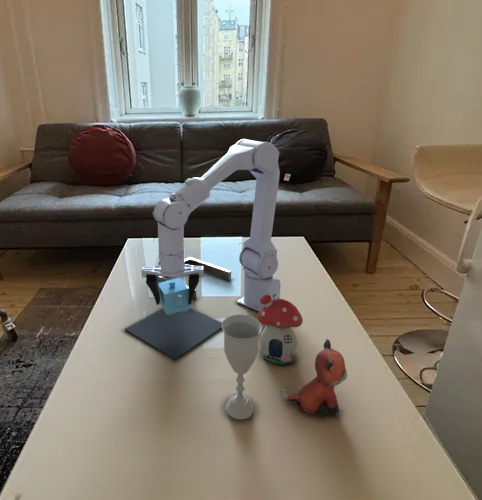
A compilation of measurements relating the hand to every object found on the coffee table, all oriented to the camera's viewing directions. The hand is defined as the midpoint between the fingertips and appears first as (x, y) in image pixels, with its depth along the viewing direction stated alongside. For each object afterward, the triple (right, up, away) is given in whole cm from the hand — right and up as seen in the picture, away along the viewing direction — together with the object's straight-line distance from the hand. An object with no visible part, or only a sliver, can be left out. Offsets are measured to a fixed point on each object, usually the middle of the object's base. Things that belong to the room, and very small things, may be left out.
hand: (174, 302), depth 94 cm
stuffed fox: (+26, -16, -22) cm, 38 cm away
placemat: (0, -7, +3) cm, 7 cm away
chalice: (+13, -17, -22) cm, 31 cm away
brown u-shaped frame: (+5, +3, +27) cm, 27 cm away
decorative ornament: (+23, -11, -9) cm, 27 cm away
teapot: (0, -2, +2) cm, 3 cm away
